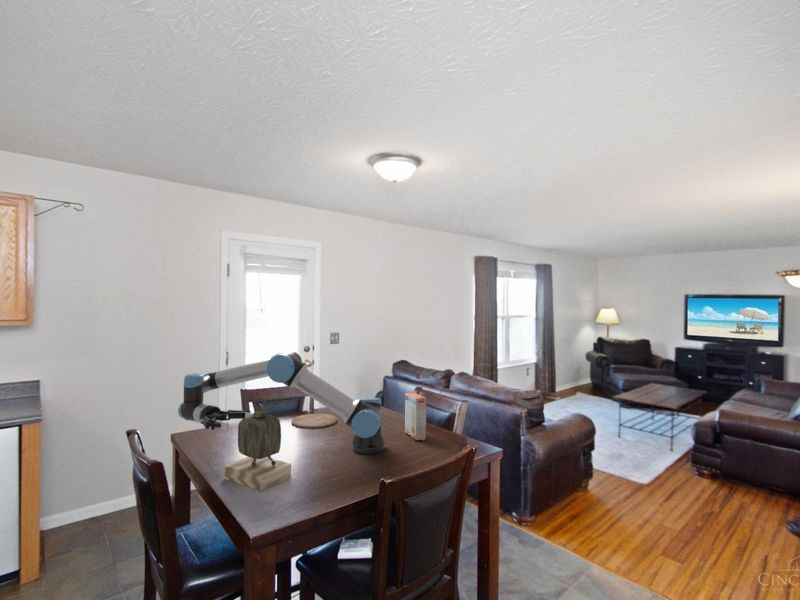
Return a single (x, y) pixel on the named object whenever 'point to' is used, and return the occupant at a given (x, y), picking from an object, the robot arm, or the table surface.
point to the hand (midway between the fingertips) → (242, 422)
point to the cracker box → (415, 415)
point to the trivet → (314, 420)
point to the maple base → (257, 472)
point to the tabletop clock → (259, 435)
